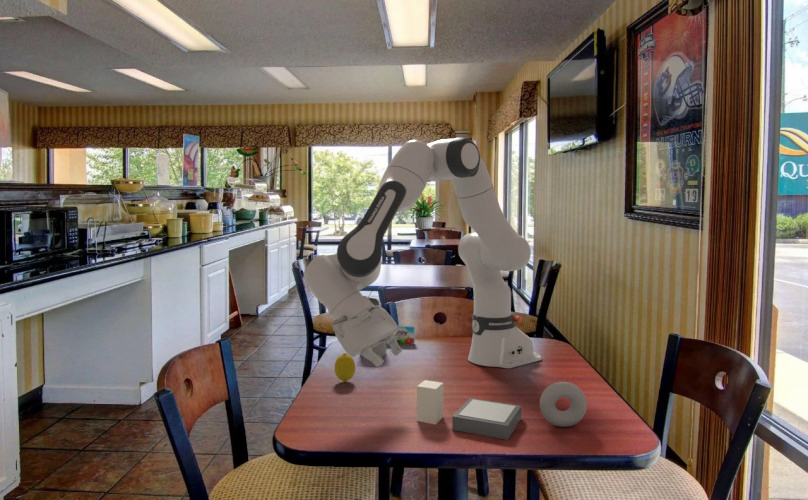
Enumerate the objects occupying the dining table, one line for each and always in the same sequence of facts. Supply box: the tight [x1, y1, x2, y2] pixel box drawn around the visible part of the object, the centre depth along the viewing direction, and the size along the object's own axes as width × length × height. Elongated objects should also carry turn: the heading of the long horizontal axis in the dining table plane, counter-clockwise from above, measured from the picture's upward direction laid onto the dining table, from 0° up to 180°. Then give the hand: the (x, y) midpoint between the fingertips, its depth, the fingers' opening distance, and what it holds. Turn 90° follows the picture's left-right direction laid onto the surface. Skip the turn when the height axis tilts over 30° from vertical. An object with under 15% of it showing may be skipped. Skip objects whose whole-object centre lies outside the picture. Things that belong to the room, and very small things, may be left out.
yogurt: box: [386, 325, 416, 346], centre depth 190 cm, size 12×2×6 cm, turn 81°
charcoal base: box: [451, 397, 522, 441], centre depth 123 cm, size 12×12×3 cm
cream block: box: [416, 379, 444, 425], centre depth 125 cm, size 4×4×8 cm
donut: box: [539, 381, 588, 428], centre depth 121 cm, size 10×4×10 cm, turn 85°
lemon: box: [334, 352, 356, 383], centre depth 150 cm, size 6×6×8 cm
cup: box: [359, 341, 387, 358], centre depth 177 cm, size 8×8×10 cm
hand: (390, 358), depth 129 cm, fingers open, 8 cm apart
